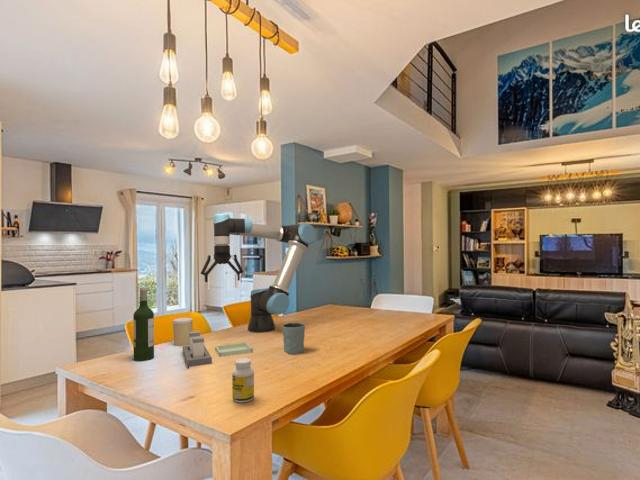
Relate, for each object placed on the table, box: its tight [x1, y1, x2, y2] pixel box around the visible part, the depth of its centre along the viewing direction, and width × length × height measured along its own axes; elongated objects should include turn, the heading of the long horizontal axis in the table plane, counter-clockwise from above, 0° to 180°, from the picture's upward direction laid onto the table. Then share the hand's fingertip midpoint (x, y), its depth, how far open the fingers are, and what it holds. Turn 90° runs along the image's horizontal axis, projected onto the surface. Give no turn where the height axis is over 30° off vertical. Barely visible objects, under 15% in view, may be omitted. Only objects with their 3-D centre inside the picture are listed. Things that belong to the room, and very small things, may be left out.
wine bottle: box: [132, 286, 155, 362], centre depth 158 cm, size 8×8×30 cm
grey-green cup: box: [281, 322, 306, 356], centre depth 164 cm, size 10×10×12 cm
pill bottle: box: [231, 357, 255, 403], centre depth 113 cm, size 6×6×12 cm
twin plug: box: [188, 330, 201, 350], centre depth 162 cm, size 4×4×10 cm
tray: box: [214, 341, 253, 358], centre depth 165 cm, size 14×12×2 cm
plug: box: [192, 335, 205, 358], centre depth 151 cm, size 4×4×10 cm
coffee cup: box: [172, 317, 194, 347], centre depth 181 cm, size 9×9×12 cm
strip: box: [182, 344, 213, 369], centre depth 156 cm, size 9×24×4 cm, turn 25°
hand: (222, 288), depth 183 cm, fingers open, 13 cm apart
